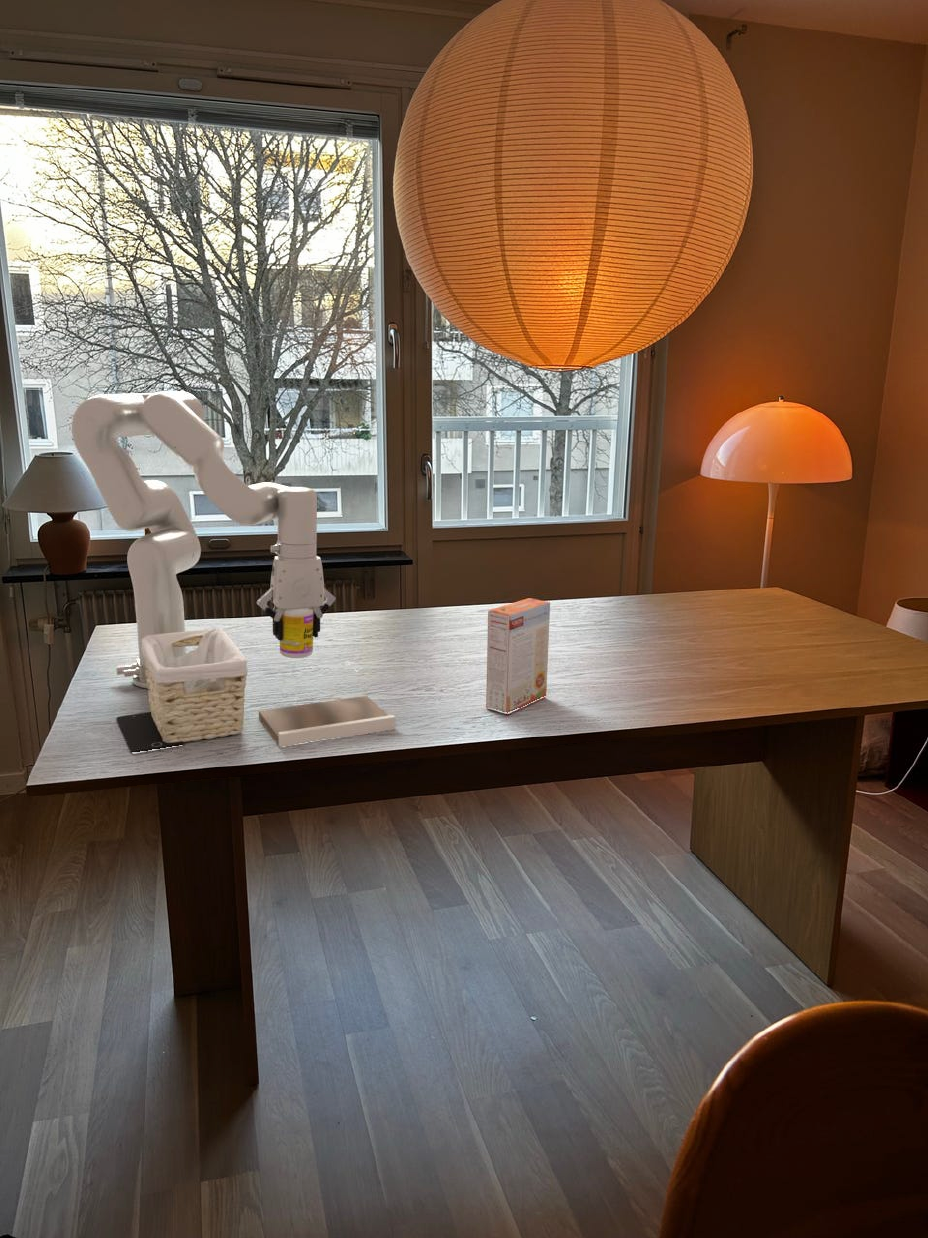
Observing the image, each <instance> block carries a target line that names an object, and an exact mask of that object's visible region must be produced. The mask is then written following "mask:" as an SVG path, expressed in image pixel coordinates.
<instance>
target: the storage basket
mask: <svg viewBox="0 0 928 1238" xmlns="http://www.w3.org/2000/svg"><path fill="white" fill-rule="evenodd" d="M141 646H142V648H141V650H142V653H143V656H144V658H145V668H146V677H147V680H146V681H147V687H148V689H147V690H148V691H147V695H148V704H149V710H150V712H151V715H152V717H153V720H154V722H155V724H156V726H157V729H158V731H159V732H160V735H161V736H162V738H163V741H164V742H165V743H174V742H180V741H183V742H184V743H188V742H191V741H195V742H196V741H200V740H203V739H205V740H211V739H214V738H219V737H221V738H222V737H223V738H224V737H227V736H232V735H238V734H241V733H242V732H243V731H244V725H243V724H244V719H245V689H246V686H247V682H246V681H247V676H248V667H247V663H248V661H247V659H246V656H244V654H243V652H242V651H241V650H240V648H238V646H237V645H236V644H235V643H234V642H233V640H232V639H231V638H230V636H229V635H228V634H227V633H226V632H225V630H223V629H222V628H217V627H216V628H212V629H211V628H210V629H200V630H199V629H197V630H187V631H186V630H185V632H175V633H166V634H156V635H147V636H145V637H144V638H143V639H142V645H141ZM184 646H186V647H197V648H196V649H194V650H191V651H189V652H186V654H185V655H183V656H179V657H174V654H173V650H172V647H184Z"/></svg>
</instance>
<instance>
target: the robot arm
mask: <svg viewBox="0 0 928 1238" xmlns="http://www.w3.org/2000/svg"><path fill="white" fill-rule="evenodd" d="M74 411H75V412H74V413H73V416H72V417H73V418H72V420H71V435H72V439H73V444H74V445H75V448H76V450H77V452H78V454H79V456H80V457H81V459H82V460H83V462H84V464H85V465H86V468H87V469H88V471H89V472H90V474H91V476H92V479H93V480H94V482H95V483H94V484H95V485H96V487H97V489H98V491H99V493H100V495H101V497H102V499H103V501H104V503H105V505H106V507H107V509H108V511H109V513H110V515H111V517H112V519H113V520H114V522H115V523H116V525H117V526H118V527H120V528H121V530H124V531H127V532H128V531H129V532H136V531H137V532H138V531H141V530H145V529H148V530H149V531H150V533H147V534H145V535H142V536H140V537H139V538H137V539H136V540H135V541H133V542H132V544H131V545H130V547H129V548H128V551H127V557H126V559H127V561H126V562H127V567H128V571H129V575H130V578H131V583H132V588H133V593H134V594H133V596H134V607H135V615H136V616H135V617H136V619H135V620H136V630H137V645H138V658H136V659H135V660H136V662H132V663H131V664H128V665H125V664H124V665H123V664H122V665H116V667H115V668H116V669H115V671H116V676H122V675H124V678H126V677H132V682H133V684H134V685H135V686H136V687H139V688H143V689H147V690H149V689H148V687H147V681H146V680H147V677H146V668H145V658H144V656H143V653H142V650H141V648H142V646H141V645H142V639H143V638H144V637H145V636H147V635H156V634H166V633H175V632H185V631H186V627H185V625H186V624H185V609H184V598H183V597H184V596H183V592H182V589H181V587H180V584H179V581H178V579H177V574H179V573H182V572H185V571H187V570H189V569H191V568H193V567H194V566H196V564H197V563H198V562H199V560H200V558H201V554H202V548H201V543H200V540H199V537H198V535H197V533H196V532H197V531H195V528H194V526H193V523H192V521H191V520H190V518H189V516H188V514H187V512H186V510H185V508H184V506H183V503H182V502H181V499H180V498H179V495H177V493H176V491H175V490H174V489H173V488H172V487H170V486H169V485H168V484H167V483H165V482H163V481H160V480H155V479H151V480H150V479H149V480H144V479H143V478H142V476H141V474H140V472H139V470H138V467H137V466H136V464H135V461H134V459H132V457H131V455H129V453H128V452H127V451H126V450H125V449H124V448H123V447H122V446H121V445H120V443H119V442H118V439H119V438H125V437H126V438H128V437H135V436H151V435H152V436H155V437H156V438H157V439H158V440H159V441H161V443H162V444H163V445H165V446H166V447H167V448H168V449H170V450H171V452H172V453H174V454H175V455H176V456H177V457H178V458H179V459H180V460H182V461H183V462H184V463H185V464H186V465H187V466H188V467H189V468H190V469H191V470H192V471H193V473H194V474H193V475H194V477H195V480H196V482H197V484H198V485H199V488H200V489H201V490H202V491H201V492H203V494H204V496H205V497H206V498H207V499H208V500H209V501H210V502H211V503H212V504H213V505H214V506H215V507H216V508H217V509H218V510H219V511H220V512H221V513H223V514H224V515H225V516H226V517H228V519H230V520H231V521H233V522H234V523H237V524H238V525H240V526H244V527H253V526H257V525H259V524H263V523H265V522H269V521H273V520H277V540H276V543H275V544H274V545H271V546H270V548H269V549H270V553H272V554H273V553H275V554H276V555H275V556H274V557H273V558H274V559H273V563H272V569H271V576H270V588H269V589H268V590H267V591H266V592H265V593H264V594H263V595H262V596H260V598H259V599H257V601H256V604H257V605H258V607H260V608H261V609H262V610H263V611H264V613H266V614H267V615H268V616H269V617H270V618H271V619H272V635H273V636H274V637H275V639H277V640H278V641H279V642H280V640H282V639H283V622H282V621H281V616H282V614H283V612H284V610H285V609H299V608H313V638H318V637H319V632H321V619H322V618H323V617H324V616H323V615H324V614H325V613H326V612H327V611H328V610H329V608H330V606H332V605H333V604H334V602H335V601H336V596H334V595H333V594H332V593H331V592H330V591H329V590H327V588H325V582H324V581H325V580H324V571H323V564H322V559H321V557H320V556H318V555H317V535H318V534H317V533H318V532H317V531H318V529H317V527H318V517H317V516H318V496H317V492H316V491H315V490H314V489H312V488H310V487H304V486H287V485H282V484H279V483H275V482H269V481H268V482H267V481H263V482H259V483H255V484H250V485H247V484H246V483H245V481H243V480H242V479H241V478H239V477H238V475H236V474H235V473H234V472H233V471H232V470H231V469H230V468H229V466H228V465H227V464H226V461H225V460H224V457H223V451H224V449H225V442H224V439H223V438H222V436H220V435H219V434H218V433H217V432H216V431H215V430H214V429H213V428H212V427H211V426H209V425H208V424H207V423H206V422H205V418H206V417H205V410H204V407H203V405H202V402H201V401H200V400H199V399H198V398H197V397H196V396H195V395H194V394H192V393H190V392H186V391H179V390H178V391H172V390H171V391H158V392H155V393H153V392H152V393H150V392H149V393H117V394H116V393H115V394H113V393H109V394H98V395H94V396H91V397H89V398H86V399H85V400H83V401H82V402H81V403H80V404H79V405H78V407H77V408H76V409H75V410H74ZM269 601H270V602H271V603H272V604H274V606H273V608H271V607H270V606H269V605H268V602H269ZM172 650H173V654H174V657H179V656H183V655H185V654H187V646H184V647H172Z"/></svg>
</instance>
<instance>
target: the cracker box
mask: <svg viewBox="0 0 928 1238" xmlns="http://www.w3.org/2000/svg"><path fill="white" fill-rule="evenodd" d="M550 613H551V602H550V601H546V600H540V599H536V598H531V597H530V598H529V597H528V598H525V599H521V600H518V601H515V602H512V603H507V604H506V605H502V606H499V607H496V608H492V609H489V610H488V611H487V616H488V617H487V647H486V648H487V649H486V650H487V651H486V655H487V656H486V659H487V660H486V661H487V662H486V692H485V693H486V696H485V697H486V699H485V709H486V708H492V709H496V710H499V711H502V712H507V713H508V712H510V711H513V710H515V709H517V708H521V707H523V706H525V705H527V704H529V703H531V702H533V701H535V700H537V699H540V698H541V697H544V696H546V697H547V687H548V684H547V683H548V663H549V644H550V643H549V642H550V641H549V640H550V639H549V638H550V620H551V619H550V618H551V617H550V616H551V614H550Z"/></svg>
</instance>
